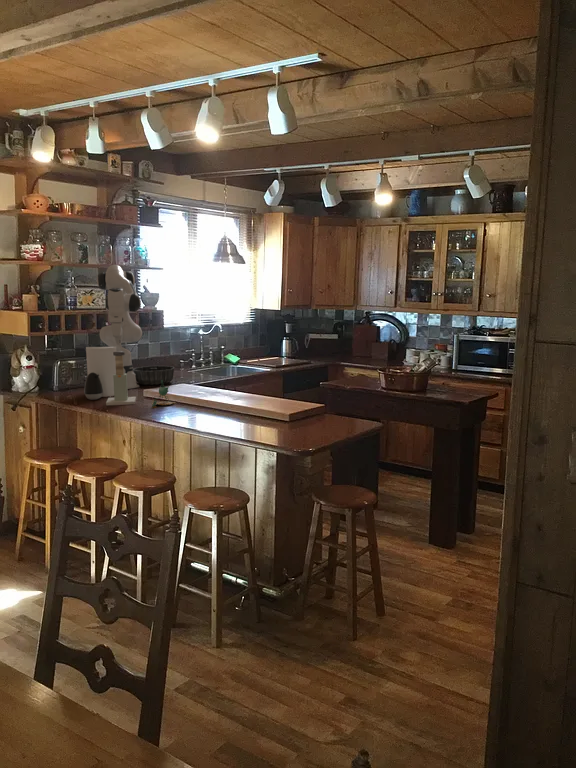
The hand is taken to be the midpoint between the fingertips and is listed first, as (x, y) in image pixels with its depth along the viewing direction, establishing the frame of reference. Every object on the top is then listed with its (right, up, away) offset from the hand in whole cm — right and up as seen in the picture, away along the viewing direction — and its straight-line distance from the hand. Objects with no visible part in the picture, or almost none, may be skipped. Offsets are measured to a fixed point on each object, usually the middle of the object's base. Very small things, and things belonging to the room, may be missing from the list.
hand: (118, 344), depth 371 cm
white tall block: (-16, -28, +31) cm, 45 cm away
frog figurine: (+25, -34, -5) cm, 42 cm away
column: (0, -30, +5) cm, 30 cm away
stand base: (0, -32, +5) cm, 32 cm away
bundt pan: (+6, -22, +68) cm, 72 cm away
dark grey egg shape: (-18, -30, +16) cm, 39 cm away
